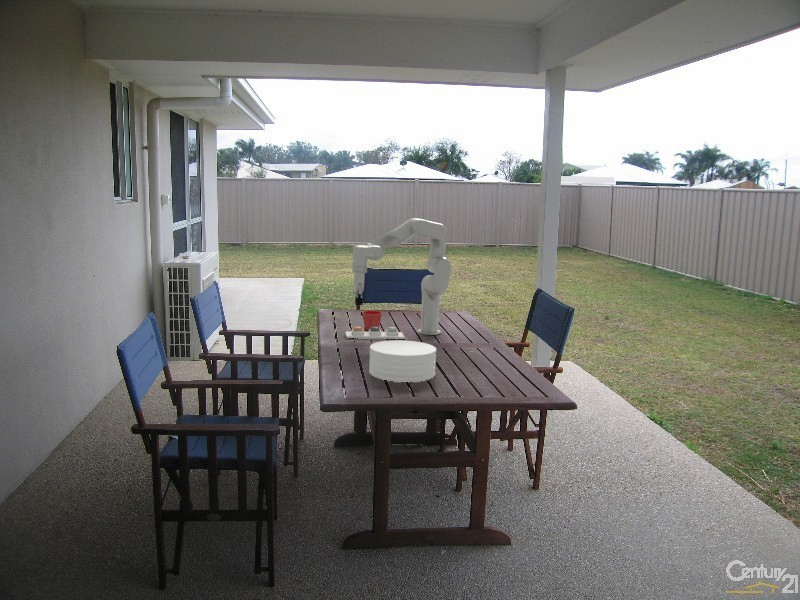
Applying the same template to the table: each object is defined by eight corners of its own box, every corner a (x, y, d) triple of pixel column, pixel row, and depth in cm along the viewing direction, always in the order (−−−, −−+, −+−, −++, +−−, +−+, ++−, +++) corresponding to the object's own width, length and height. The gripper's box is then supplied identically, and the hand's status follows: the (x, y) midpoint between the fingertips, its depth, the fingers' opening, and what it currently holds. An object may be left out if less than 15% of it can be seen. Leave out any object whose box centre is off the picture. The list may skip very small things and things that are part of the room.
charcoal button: (370, 330, 368) (370, 326, 368) (378, 330, 369) (378, 326, 368) (371, 332, 364) (371, 328, 363) (379, 332, 364) (379, 328, 364)
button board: (345, 334, 371) (345, 327, 370) (401, 334, 374) (401, 328, 374) (346, 339, 359) (346, 332, 358) (404, 339, 363) (404, 333, 362)
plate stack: (376, 363, 313) (377, 338, 311) (438, 368, 308) (439, 343, 306) (362, 379, 286) (363, 352, 284) (430, 385, 281) (431, 357, 279)
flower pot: (358, 330, 382) (359, 312, 380) (366, 326, 392) (366, 309, 390) (377, 332, 378) (377, 314, 377) (383, 328, 389) (384, 311, 387)
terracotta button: (353, 330, 367) (353, 326, 366) (361, 330, 367) (361, 326, 367) (353, 331, 363) (353, 328, 362) (362, 331, 363) (362, 328, 363)
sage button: (387, 330, 369) (387, 326, 369) (395, 330, 370) (395, 326, 369) (388, 332, 365) (388, 328, 365) (396, 332, 365) (396, 328, 365)
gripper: (351, 267, 367) (350, 301, 370) (353, 271, 351) (352, 307, 354) (365, 267, 368) (364, 302, 371) (368, 271, 352) (367, 307, 355)
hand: (358, 304), depth 363 cm, fingers open, 3 cm apart
